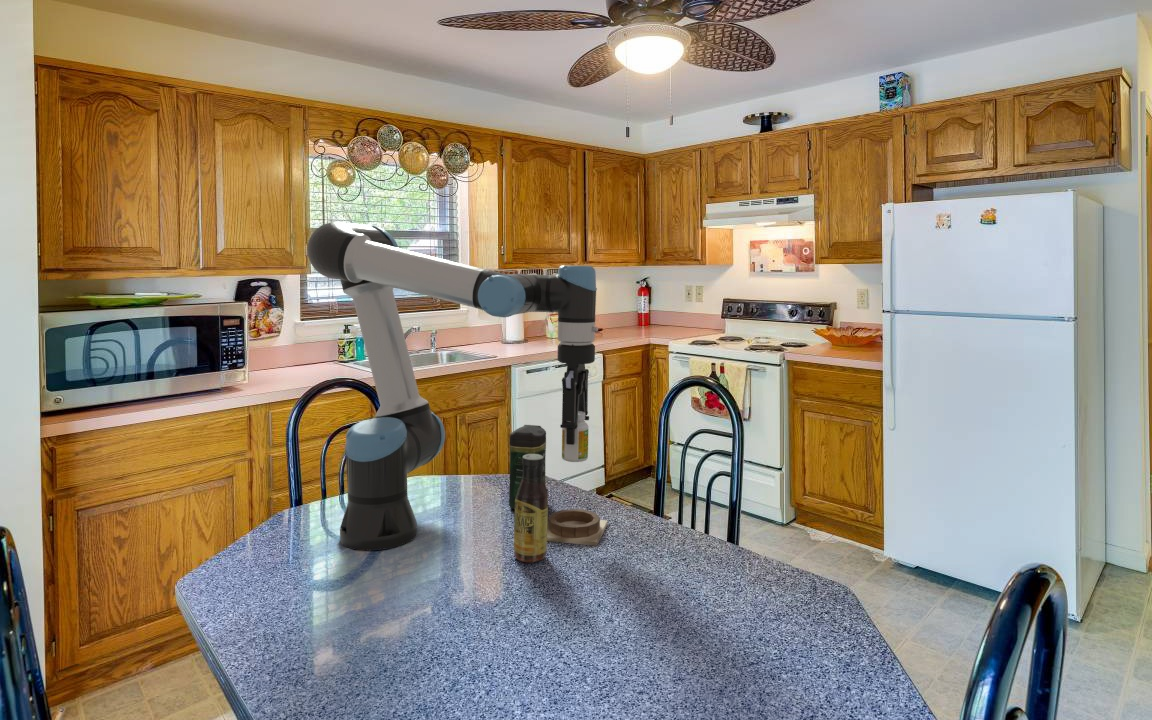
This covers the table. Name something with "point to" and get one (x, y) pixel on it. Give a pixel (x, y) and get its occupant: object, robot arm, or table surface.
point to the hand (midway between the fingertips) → (574, 455)
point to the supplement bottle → (582, 439)
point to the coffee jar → (520, 444)
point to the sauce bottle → (531, 512)
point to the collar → (575, 527)
